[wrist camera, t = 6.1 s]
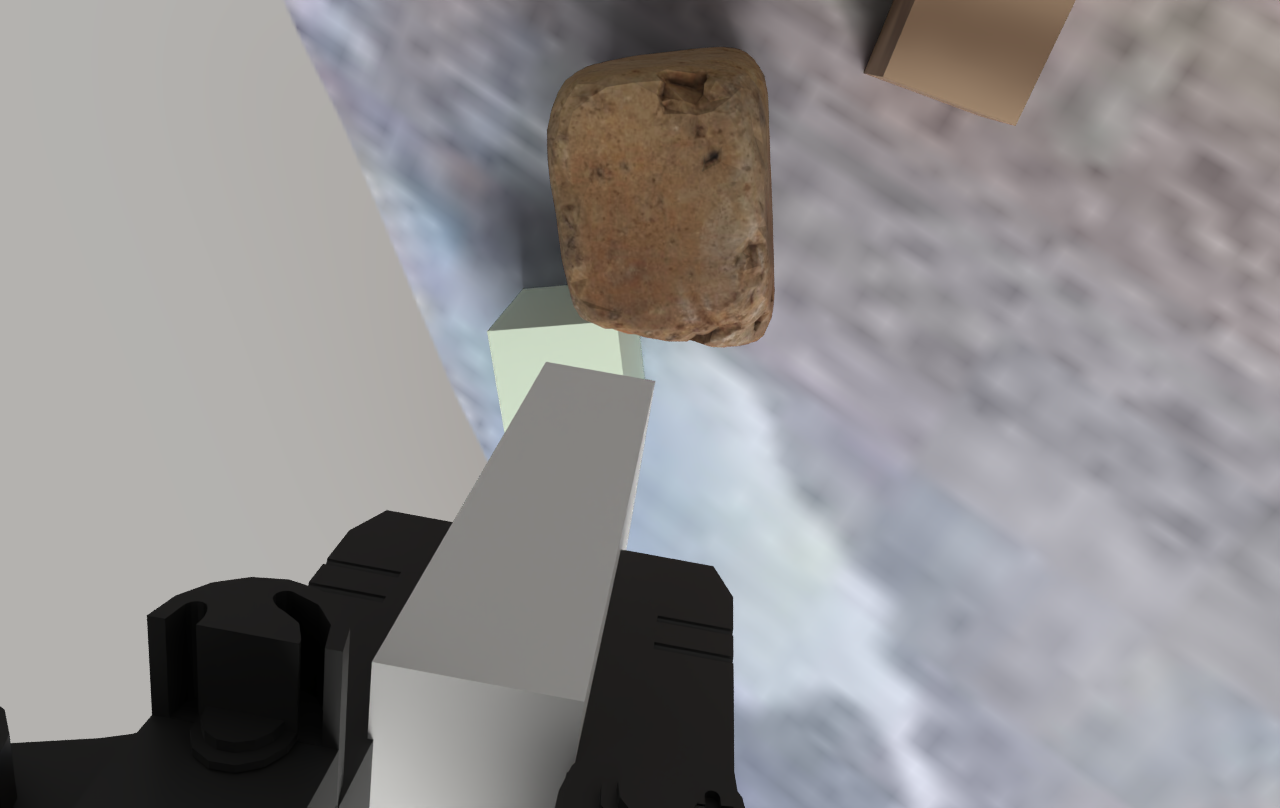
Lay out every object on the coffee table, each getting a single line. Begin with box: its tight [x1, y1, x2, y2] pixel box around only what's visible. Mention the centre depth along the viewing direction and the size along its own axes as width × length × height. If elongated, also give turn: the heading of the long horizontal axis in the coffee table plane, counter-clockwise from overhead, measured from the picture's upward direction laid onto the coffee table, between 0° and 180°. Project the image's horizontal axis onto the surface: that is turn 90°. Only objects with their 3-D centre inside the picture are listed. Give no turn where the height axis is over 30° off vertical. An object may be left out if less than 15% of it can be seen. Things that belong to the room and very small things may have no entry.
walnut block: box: [864, 0, 1075, 126], centre depth 41 cm, size 6×6×6 cm
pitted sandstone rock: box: [547, 47, 775, 347], centre depth 37 cm, size 11×8×20 cm
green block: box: [487, 285, 645, 432], centre depth 47 cm, size 6×6×8 cm
